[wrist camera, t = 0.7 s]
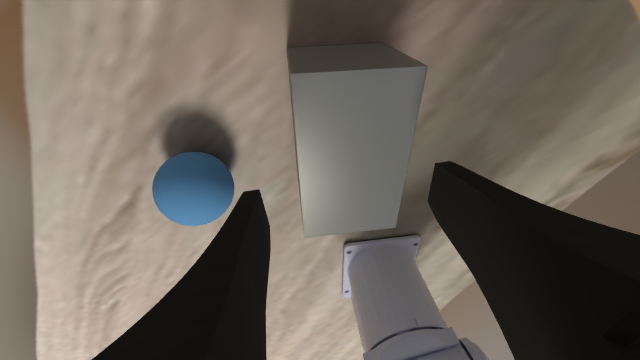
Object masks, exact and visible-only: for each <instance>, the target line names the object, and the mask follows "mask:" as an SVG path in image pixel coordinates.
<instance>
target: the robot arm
mask: <svg viewBox="0 0 640 360" xmlns="http://www.w3.org/2000/svg"><path fill="white" fill-rule="evenodd" d="M428 203H429V205H430V207H431V209H432V212H433V214H434V216H435V218H436V220H437V222H438V223H439V225H440V226H441V228H442V229H443V231H444V232H445V234H446V235H447V237H448V238H449V240H450V241H451V243H452V244H453V245H454V247H455V248H456V250H457V251H458V253H459V254H460V256H461V257H462V259H463V260H464V262H465V263H466V265H467V266H468V268H469V269H470V271H471V272H472V274H473V276H474V277H475V279H476V281H477V283H478V285H479V287H480V289H481V290H482V292H483V294H484V296H485V298H486V300H487V302H488V304H489V306H490V308H491V310H492V312H493V314H494V316H495V318H496V319H497V322H498V324H499V326H500V328H501V330H502V332H503V335H504V337H505V339H506V341H507V343H508V345H509V348H510V350H511V352H512V354H513V356H514V359H515V360H640V235H638V234H634V233H630V232H626V231H623V230H619V229H616V228H612V227H609V226H606V225H602V224H599V223H596V222H592V221H589V220H586V219H583V218H580V217H577V216H574V215H571V214H568V213H565V212H563V211H560V210H557V209H555V208H552V207H549V206H546V205H544V204H541V203H539V202H537V201H534V200H532V199H530V198H527V197H525V196H523V195H520V194H518V193H516V192H514V191H511V190H509V189H507V188H505V187H503V186H501V185H499V184H497V183H495V182H492V181H490V180H488V179H486V178H484V177H482V176H480V175H478V174H476V173H474V172H472V171H470V170H468V169H466V168H464V167H462V166H460V165H458V164H455V163H453V162H451V161H447V162H440V163H435V167H434V172H433V177H432V182H431V187H430V192H429V197H428ZM420 242H421V238H420V237H419V236H418V235H414V236H405V237H396V238H388V239H379V240H371V241H362V242H354V243H347V244H345V245H344V256H343V280H342V297H343V298H345V299H347V298H351V300H352V304H353V308H354V312H355V316H356V321H357V325H358V329H359V333H360V338H361V342H362V346H363V349H364V351H365V353H363V357H364V360H489V359H488V358H487V356H486V355H485V353H484V352H483V351H482V349H481V348H480V347H479V346H478V345H477V344H475V343H473V342H471V341H470V340H469V339H467V338H465V337H464V338H461V339H458V338H457V336H456V334H455V332H454V330H453V328H452V327H449V328H448V327H447V325H446V323H445V321H444V319H443V317H442V315H441V313H440V311H439V309H438V307H437V305H436V303H435V301H434V299H433V297H432V295H431V293H430V291H429V289H428V287H427V285H426V283H425V281H424V279H423V277H422V275H421V273H420V271H419V269H418V267H417V265H416V263H415V259H416V256H417V252H418V249H419V245H420ZM269 261H270V225H269V222H268V218H267V215H266V211H265V207H264V204H263V200H262V197H261V193H260V190H252V191H245V192H243V194H242V195H241V197H240V198H239V200H238V202H237V203H236V205H235V207H234V209H233V210H232V212H231V213H230V215H229V217H228V218H227V220H226V221H225V223H224V224H223V226H222V227H221V229H220V231H219V232H218V233H217V235H216V236H215V238H214V239H213V240H212V242H211V243H210V244H209V246H208V247H207V249H206V250H205V251H204V253H203V254H202V255H201V256H200V258H199V259H198V260H197V261H196V263H195V264H194V265H193V266H192V267H191V268H190V270H189V271H188V272H187V273H186V274H185V275H184V276H183V278H182V279H181V280H180V281H179V282H178V283H177V284H176V285H175V286H174V287H173V288H172V289H171V290H170V291H169V292H168V293H167V294H166V295H165V296H164V297H163V298H162V299H161V300H160V301H159V302H158V303H157V304H156V305H155V306H154V307H153V308H152V309H151V310H150V311H149V312H147V313H146V314H145V315H144V316H143V317H142V318H141V319H140V320H139V321H138V322H136V323H135V324H134V325H133V326H132V327H131V328H130V329H128V330H127V331H126V332H125V333H124V334H123V335H121V336H120V337H119V338H118V339H117V340H115V341H114V342H113V343H112V344H111V345H109V346H108V347H107V348H106V349H104V350H103V351H102V352H101V353H99V354H98V355H97V356H96V357H94V358H93V359H92V360H266V296H267V285H268V273H269Z"/></svg>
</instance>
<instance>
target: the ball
mask: <svg viewBox="0 0 640 360" xmlns="http://www.w3.org/2000/svg"><path fill="white" fill-rule="evenodd" d="M152 191H153V198H154V201H155V203H156V205H157V207H158V209H159V210H160V211H161V212H162V213H163V214H164V215H165V216H166V217H167V218H168V219H170V220H172V221H174V222H176V223H179V224H182V225H188V226H198V225H203V224H207V223H210V222H212V221H214V220H216V219H217V218H219V217H220V216H221V215H222V214H223V213H224V212H225V211H226V210H227V209H228V207H229V205H230V204H231V201H232V199H233V195H234V182H233V178H232V175H231V173H230V171H229V169H228V168H227V167H226V165H225V164H224V163H223V162H222V161H220V160H219V159H217V158H216V157H214V156H212V155H210V154H207V153H203V152H185V153H181V154H178V155H176V156H173V157H172V158H170V159H169V160H167V161H166V162H165V163H164V164H163V165H162V166H161V167H160V168H159V170H158V171H157V173H156V175H155V177H154V181H153V186H152Z"/></svg>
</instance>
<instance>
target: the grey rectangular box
mask: <svg viewBox="0 0 640 360" xmlns="http://www.w3.org/2000/svg"><path fill="white" fill-rule="evenodd" d="M287 58H288V69H289V81H290V92H291V104H292V115H293V126H294V138H295V149H296V161H297V172H298V183H299V192H300V202H301V211H302V220H303V230H304V238H308V237H317V236H326V235H335V234H344V233H353V232H361V231H370V230H379V229H388V228H396V223H397V218H398V213H399V208H400V203H401V198H402V193H403V188H404V183H405V178H406V173H407V168H408V163H409V158H410V153H411V148H412V143H413V138H414V132H415V127H416V122H417V117H418V112H419V107H420V102H421V97H422V92H423V87H424V82H425V77H426V72H427V67H428V66H427V65H425V64H423V63H421V62H419V61H417V60H415V59H413V58H411V57H409V56H407V55H405V54H404V53H402V52H400V51H398V50H396V49H394V48H392V47H390V46H388V45H386V44H384V43H369V44H348V45H328V46H308V47H287Z"/></svg>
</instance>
